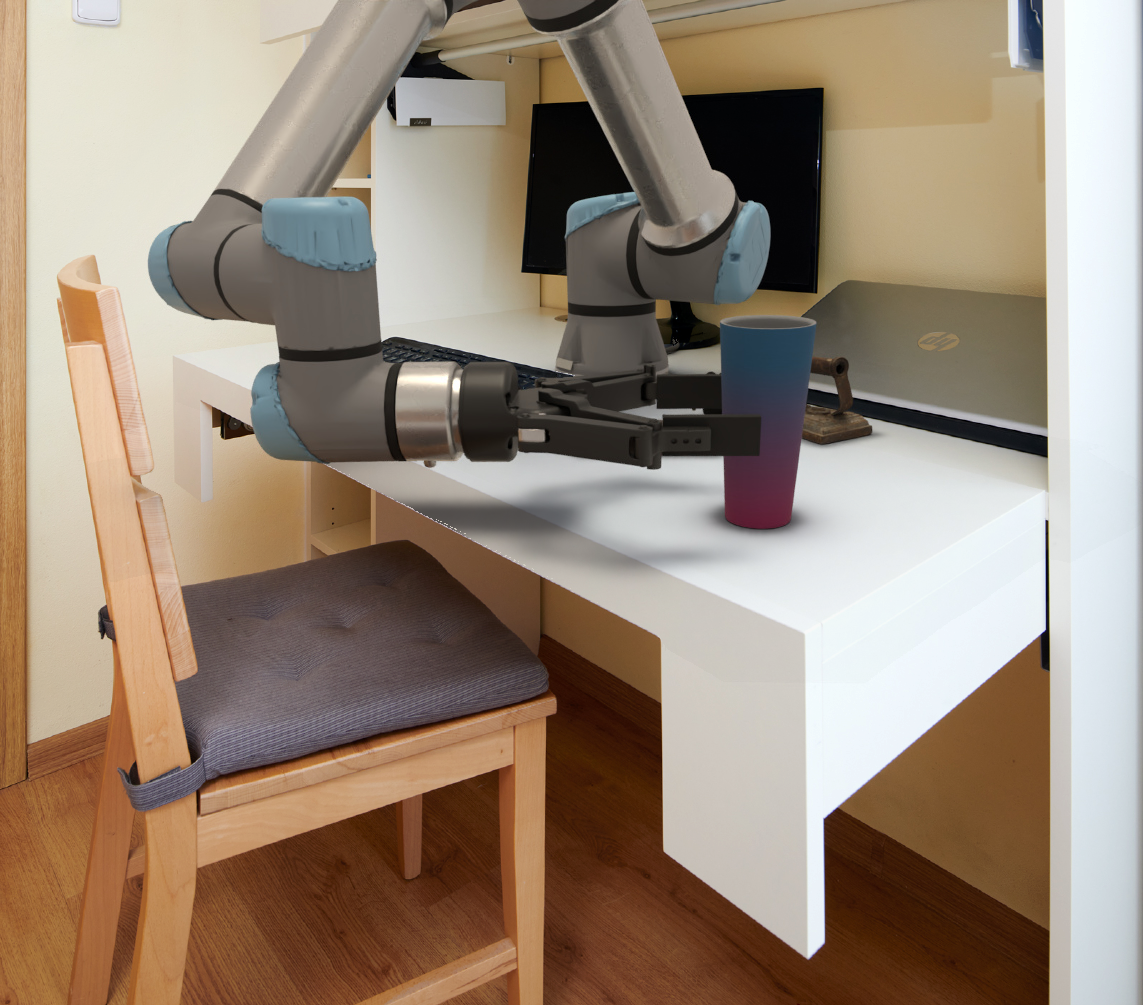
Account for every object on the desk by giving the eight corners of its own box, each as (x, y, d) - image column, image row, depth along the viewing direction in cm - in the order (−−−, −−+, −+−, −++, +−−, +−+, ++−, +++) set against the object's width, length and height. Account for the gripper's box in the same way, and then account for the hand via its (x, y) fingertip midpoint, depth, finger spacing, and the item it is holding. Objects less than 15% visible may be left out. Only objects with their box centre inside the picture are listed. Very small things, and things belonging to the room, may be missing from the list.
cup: (740, 497, 75) (748, 312, 70) (818, 514, 70) (832, 319, 65) (696, 520, 70) (701, 323, 65) (777, 540, 66) (789, 331, 61)
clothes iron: (828, 450, 88) (810, 349, 87) (752, 451, 98) (734, 360, 96) (878, 433, 91) (861, 335, 90) (800, 435, 101) (783, 347, 100)
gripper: (490, 420, 82) (728, 419, 80) (433, 515, 58) (769, 516, 57) (486, 336, 79) (731, 333, 78) (425, 401, 56) (775, 399, 54)
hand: (748, 411), depth 67 cm, fingers open, 13 cm apart
